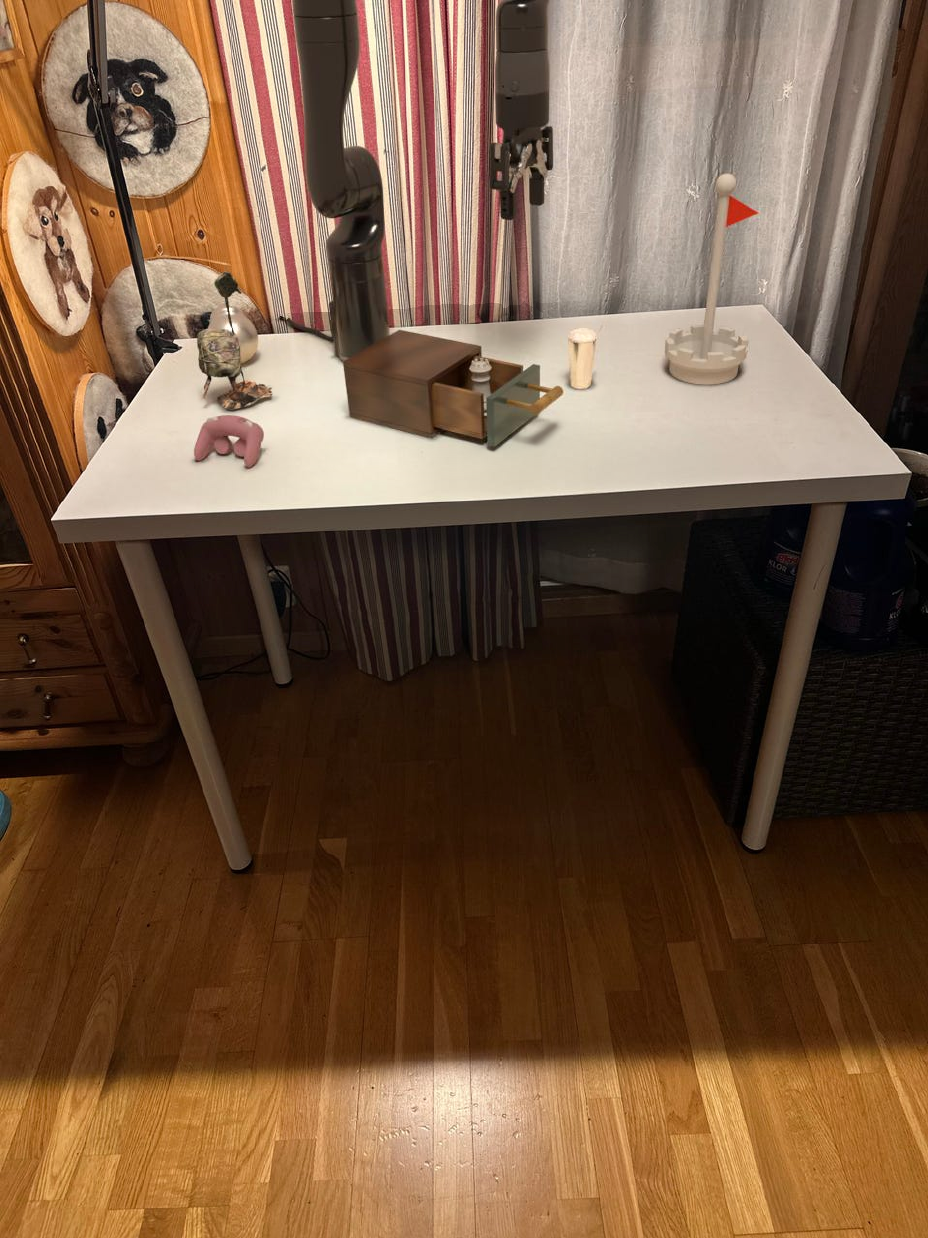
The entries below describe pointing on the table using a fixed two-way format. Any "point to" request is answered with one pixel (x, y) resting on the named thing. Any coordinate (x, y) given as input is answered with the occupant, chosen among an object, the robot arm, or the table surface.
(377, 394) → the cabinet
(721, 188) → the flag stand
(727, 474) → the table surface
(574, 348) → the milkshake
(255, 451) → the video game controller
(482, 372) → the rook chess piece
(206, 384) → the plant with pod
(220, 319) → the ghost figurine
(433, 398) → the drawer
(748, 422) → the table surface
